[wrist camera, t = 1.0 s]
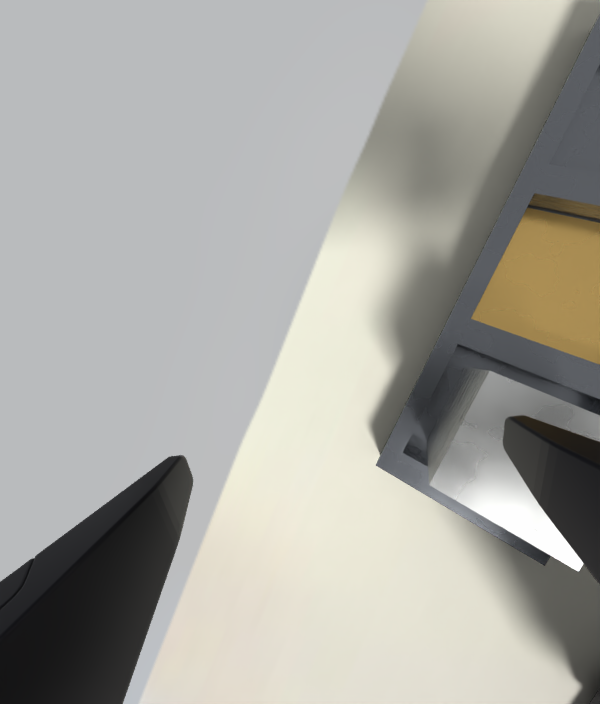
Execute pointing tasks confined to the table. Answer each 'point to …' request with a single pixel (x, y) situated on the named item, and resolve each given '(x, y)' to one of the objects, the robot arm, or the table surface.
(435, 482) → the metal block
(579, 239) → the gray compartment tray
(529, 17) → the table surface
